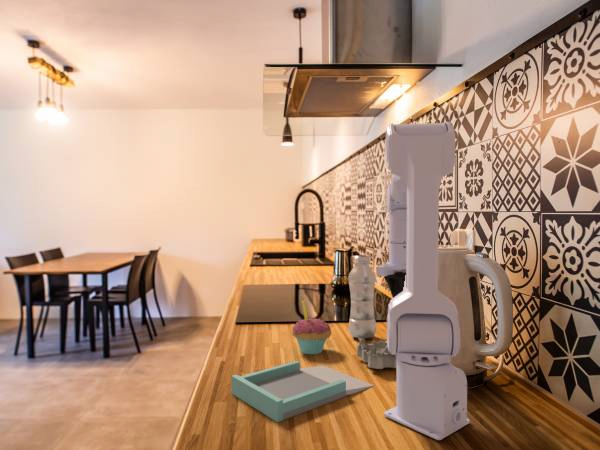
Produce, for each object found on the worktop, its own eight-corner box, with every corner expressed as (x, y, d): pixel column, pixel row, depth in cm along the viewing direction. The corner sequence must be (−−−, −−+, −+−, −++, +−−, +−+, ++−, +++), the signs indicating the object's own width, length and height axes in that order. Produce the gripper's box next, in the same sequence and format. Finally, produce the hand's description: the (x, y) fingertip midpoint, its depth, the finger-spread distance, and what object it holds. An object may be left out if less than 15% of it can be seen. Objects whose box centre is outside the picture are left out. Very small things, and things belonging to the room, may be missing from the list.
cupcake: (297, 359, 89) (297, 301, 89) (288, 346, 97) (287, 294, 97) (336, 355, 91) (336, 299, 91) (323, 343, 100) (323, 292, 99)
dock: (374, 390, 75) (374, 368, 75) (277, 427, 62) (277, 401, 62) (324, 369, 85) (324, 350, 85) (231, 398, 72) (231, 375, 72)
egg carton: (353, 354, 90) (354, 334, 90) (387, 354, 91) (388, 334, 91) (368, 369, 80) (369, 347, 80) (407, 369, 81) (407, 348, 81)
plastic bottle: (376, 342, 101) (376, 257, 100) (347, 340, 102) (347, 256, 101) (376, 334, 107) (376, 254, 106) (349, 333, 108) (349, 254, 108)
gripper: (408, 240, 98) (408, 299, 98) (365, 243, 89) (365, 308, 89) (435, 242, 92) (435, 304, 93) (392, 245, 83) (392, 314, 83)
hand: (402, 307), depth 90 cm, fingers closed
